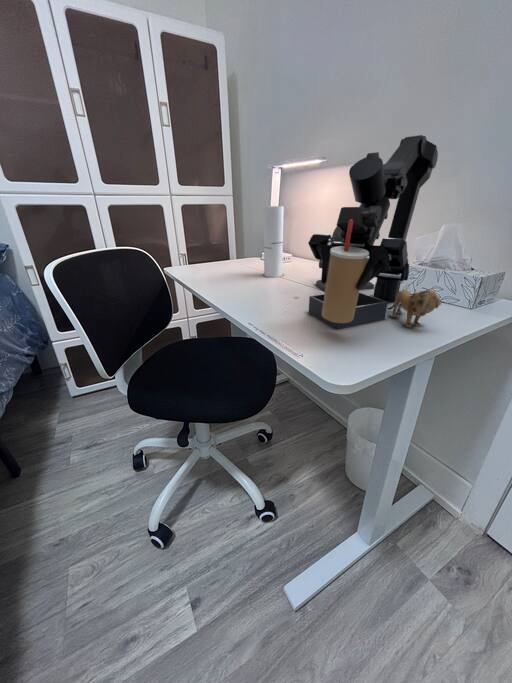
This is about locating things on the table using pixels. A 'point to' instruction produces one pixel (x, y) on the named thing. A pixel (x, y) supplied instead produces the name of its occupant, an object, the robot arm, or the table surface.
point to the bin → (364, 313)
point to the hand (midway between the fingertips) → (339, 285)
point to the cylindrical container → (273, 240)
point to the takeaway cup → (343, 281)
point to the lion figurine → (415, 304)
